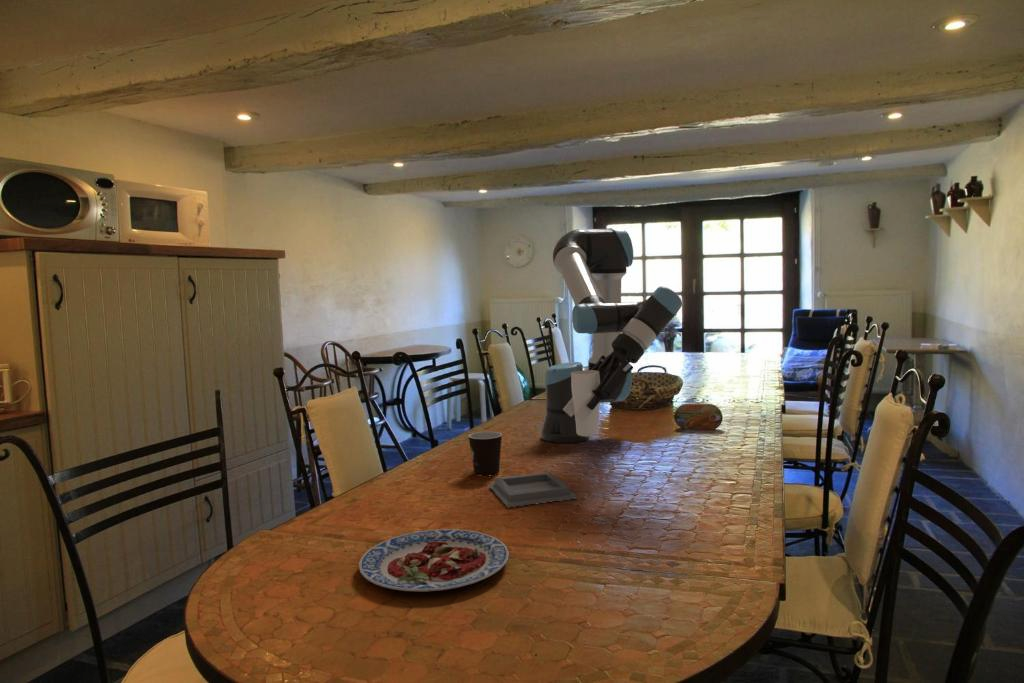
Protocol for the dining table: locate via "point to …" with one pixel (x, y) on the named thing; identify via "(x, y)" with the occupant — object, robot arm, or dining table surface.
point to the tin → (698, 416)
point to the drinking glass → (581, 391)
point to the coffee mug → (485, 452)
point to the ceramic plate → (433, 560)
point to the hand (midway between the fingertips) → (572, 415)
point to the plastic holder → (531, 489)
